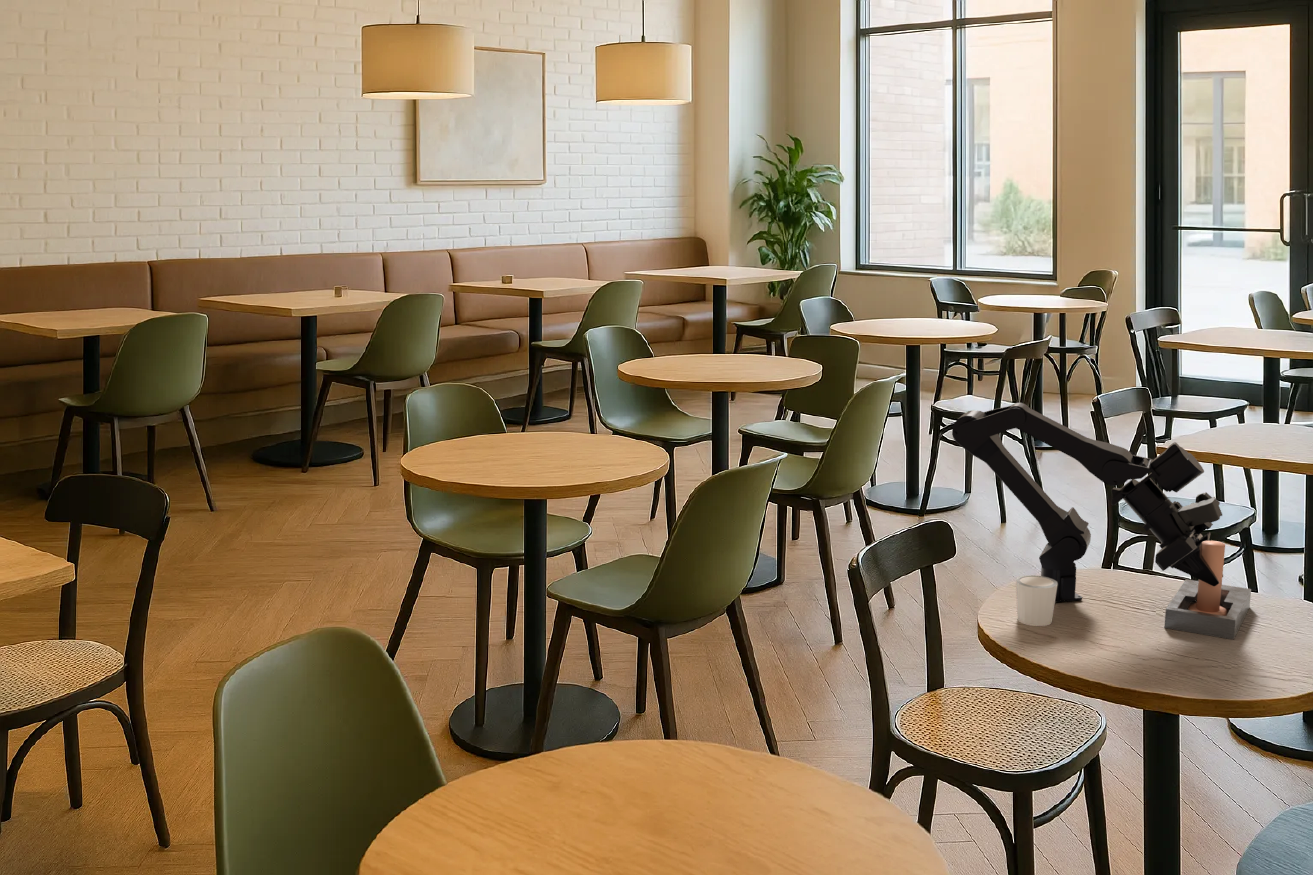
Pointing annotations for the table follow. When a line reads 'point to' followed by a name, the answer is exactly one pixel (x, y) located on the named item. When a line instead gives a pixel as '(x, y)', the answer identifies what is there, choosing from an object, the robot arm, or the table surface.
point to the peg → (1207, 593)
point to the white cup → (1035, 599)
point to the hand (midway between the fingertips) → (1219, 581)
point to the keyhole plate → (1208, 622)
